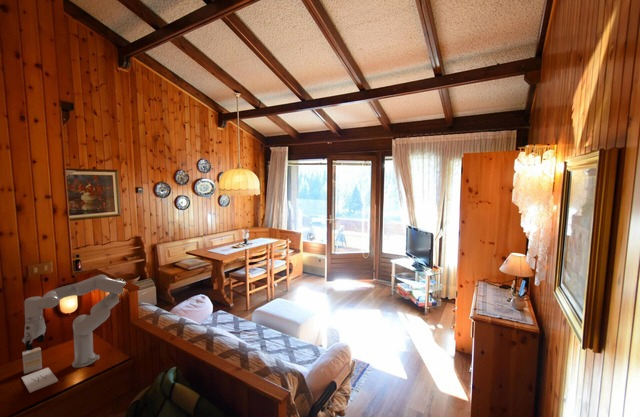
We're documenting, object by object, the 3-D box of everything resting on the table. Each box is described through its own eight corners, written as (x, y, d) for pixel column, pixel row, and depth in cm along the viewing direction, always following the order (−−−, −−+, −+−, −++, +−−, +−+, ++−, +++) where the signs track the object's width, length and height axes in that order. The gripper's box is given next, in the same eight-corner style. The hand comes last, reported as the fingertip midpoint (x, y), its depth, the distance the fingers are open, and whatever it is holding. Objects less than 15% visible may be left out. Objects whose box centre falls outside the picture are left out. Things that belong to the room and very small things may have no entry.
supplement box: (41, 366, 187) (40, 346, 186) (42, 369, 184) (41, 349, 183) (23, 371, 181) (22, 351, 180) (23, 375, 178) (22, 354, 177)
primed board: (57, 381, 172) (57, 379, 172) (29, 392, 163) (29, 390, 163) (48, 369, 184) (48, 367, 184) (21, 379, 174) (21, 377, 174)
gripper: (29, 324, 165) (30, 353, 166) (51, 311, 183) (53, 338, 184) (14, 324, 164) (15, 354, 165) (38, 312, 181) (39, 339, 182)
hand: (35, 345), depth 174 cm, fingers open, 8 cm apart
